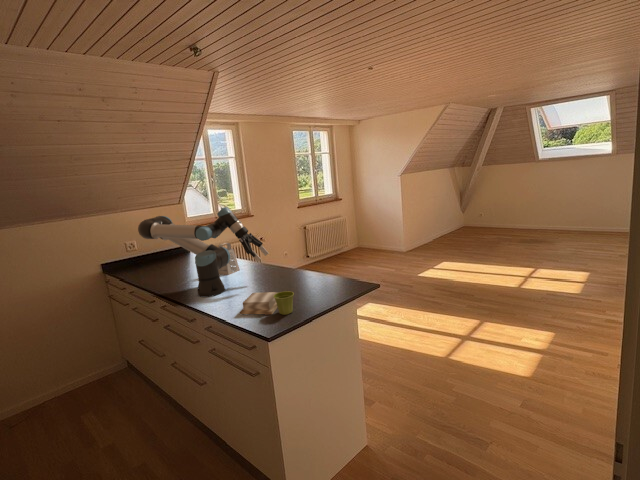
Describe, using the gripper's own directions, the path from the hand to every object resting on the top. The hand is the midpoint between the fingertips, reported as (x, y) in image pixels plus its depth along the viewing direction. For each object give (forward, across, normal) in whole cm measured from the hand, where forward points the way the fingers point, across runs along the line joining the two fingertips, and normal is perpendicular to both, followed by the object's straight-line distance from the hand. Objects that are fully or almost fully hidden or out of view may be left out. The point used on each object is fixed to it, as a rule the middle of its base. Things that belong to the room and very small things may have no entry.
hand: (263, 257), depth 212 cm
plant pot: (+28, -44, -11) cm, 53 cm away
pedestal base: (+19, -38, 0) cm, 43 cm away
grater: (-9, +27, +39) cm, 48 cm away
